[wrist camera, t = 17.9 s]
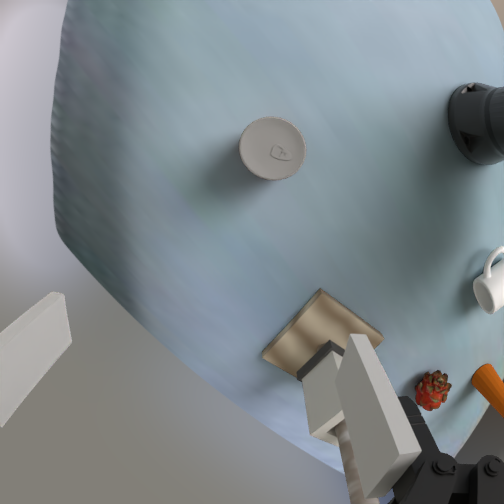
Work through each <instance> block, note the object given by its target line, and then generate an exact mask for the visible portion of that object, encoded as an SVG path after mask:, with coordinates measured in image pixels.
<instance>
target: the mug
mask: <svg viewBox="0 0 504 504" xmlns="http://www.w3.org/2000/svg"><path fill="white" fill-rule="evenodd" d="M501 252H502V253H503V254H504V246H500V247H497V248H496V249H495V250H493V251H492V252H491V253H490V255H489V256H488V258H487V260H486V262H485V265H484V271H483V274H481V275H480V276H479V277H477V278H476V279H475V280H474V282H473V290H474V294H475V297H476V299H477V301H478V303H479V305H480V306H481V308H482V309H483V310H484V311H485V312H486V313H488V314H493V313H494V312H496V311H497V310H498V309H500V308H501V307H502V306H504V258H503V259H502V260H501V261H499V262H498V263H497V264H495V265H494V266H493V267H491V264H492V261H493V260H494V258H495V257H496V256H497V255H498V254H499V253H501Z"/></svg>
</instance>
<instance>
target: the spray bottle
mask: <svg viewBox="0 0 504 504" xmlns="http://www.w3.org/2000/svg"><path fill="white" fill-rule="evenodd" d="M472 385H473V386H474V387H475V388H476V389H477V390H478V391H479V392H480V393H481V394H482V395H483V396H484V397H485V398H486V399H487V400H488V402H489V403H490V404H491V405H492V406H493V407H494V408H495V409H496V410H497V411H498V412H499V413H500V415H501V416H502V417H503V418H504V383H503V382H502V380H501V379H500V377H499V376H498V374H497V373H496V371H495V370H494V368H493V367H492V365H491V364H485V365H483V366H482V367H480V368H479V369H478V370H477V371H476V372H475V374H474V375H473V378H472Z"/></svg>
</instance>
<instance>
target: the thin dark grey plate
mask: <svg viewBox="0 0 504 504" xmlns="http://www.w3.org/2000/svg"><path fill="white" fill-rule="evenodd" d="M331 351H334V352H335V353H337V354H338V355H340V356H342V357H343V355H344V352H345V349H343V348H342V347H340V346H339V345H337V344H336V343H334V342H333V341H331V340H328V342H327V343H326V344H325V345H324V346H323V347H322V348H321V349H320V350H319V351H318V352H317V353H316V354H315V355H314V356H313V357H311V358H310V359H309V360H308V361H307V362H306V363H305V364H304V365H303V366H302V367H301V368H300V369H299V370H298V371H297V372H296V374H297V380H299V381H300V382H302V378H304V377H305V376H306V375H307V374H308V373H309V372H310V371H311V370H312V369H313V368H314V367H315V366H316V365H317V364H318V363H319V362H321V361H322V360H323V359H324V358H325V357H326V356H327V355H328V354H329V353H330V352H331Z"/></svg>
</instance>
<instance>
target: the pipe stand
mask: <svg viewBox="0 0 504 504" xmlns="http://www.w3.org/2000/svg"><path fill="white" fill-rule="evenodd" d="M350 334H366V335H367V337H368V339H369V341H370V343H371V345H372V347H373V349H375V348H376V347H377V346H378V345H379V344H380V343H381V342H382V341H383V340H384V337H383V335H382V334H381V333H380V332H379V331H378V330H376V329H375V328H374V327H372V326H371V325H369V324H368V323H367V322H365V321H364V320H363V319H361V318H360V317H359V316H357V315H356V314H355V313H353V312H352V311H350V310H349V309H348V308H346V307H345V306H344V305H342V304H341V303H340V302H338V301H337V300H336V299H334V298H333V297H331V296H330V295H329V294H327V293H326V292H325V291H323V290H322V289H321V288H320V289H319V290H318V291H317V292H316V294H315V295H314V296H313V297H312V298H311V299H310V300H309V301H308V303H307V304H306V305H305V306H304V307H303V308H302V309H301V310H300V311H299V313H298V314H297V315H296V316H295V317H294V318H293V319H292V320H291V321H290V322H289V324H288V325H287V326H286V327H285V328H284V329H283V330H282V331H281V332H280V333H279V334H278V335H277V337H276V338H275V339H274V340H273V341H272V342H271V343H270V344H269V345H268V346H267V347H266V348H265V349H264V350H263V351H262V358H263V359H265V360H267V361H268V362H270V363H272V364H274V365H275V366H277V367H279V368H280V369H282V370H284V371H286V372H287V373H289V374H291V375H293V376H295V377H296V378H297V374H296V372H297V371H298V370H299V369H300V368H301V367H302V366H303V365H304V364H305V363H306V362H307V361H308V360H309V359H310V358H311V357H313V356H314V355H315V354H316V353H317V352H318V351H319V350H320V349H321V348H322V347H323V346H324V345H325V344H326V343H327V342H328V340H331V341H333V342H334V343H336V344H337V345H339V346H340V347H342V348H343V349H346V345H347V342H348V339H349V335H350ZM335 430H336V434H337V439H338V443H339V448H340V453H341V457H342V462H343V467H344V472H345V477H346V481H347V486H348V491H349V496H350V502H351V504H380V503H379V499H378V497H377V498H371V499H365V498H364V494H363V490H362V485H361V481H360V477H359V473H358V469H357V464H356V460H355V456H354V452H353V448H352V444H351V440H350V437H349V433H348V429H347V425H346V421H345V418H344V419H343V420H342V421H341V422H339V423H338V424H337V425H336V426H335Z"/></svg>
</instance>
